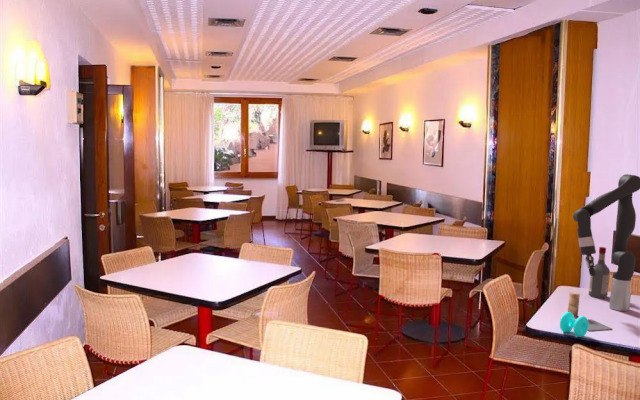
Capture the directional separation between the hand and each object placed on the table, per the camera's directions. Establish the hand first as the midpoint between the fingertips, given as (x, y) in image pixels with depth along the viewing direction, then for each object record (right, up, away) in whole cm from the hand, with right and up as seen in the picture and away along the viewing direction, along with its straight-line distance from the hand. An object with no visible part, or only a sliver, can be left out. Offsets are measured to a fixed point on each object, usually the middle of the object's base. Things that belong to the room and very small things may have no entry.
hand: (592, 275), depth 296 cm
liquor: (+20, -18, +35) cm, 44 cm away
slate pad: (-11, -23, -20) cm, 32 cm away
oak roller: (-13, -21, -5) cm, 25 cm away
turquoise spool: (-26, -24, -33) cm, 48 cm away
